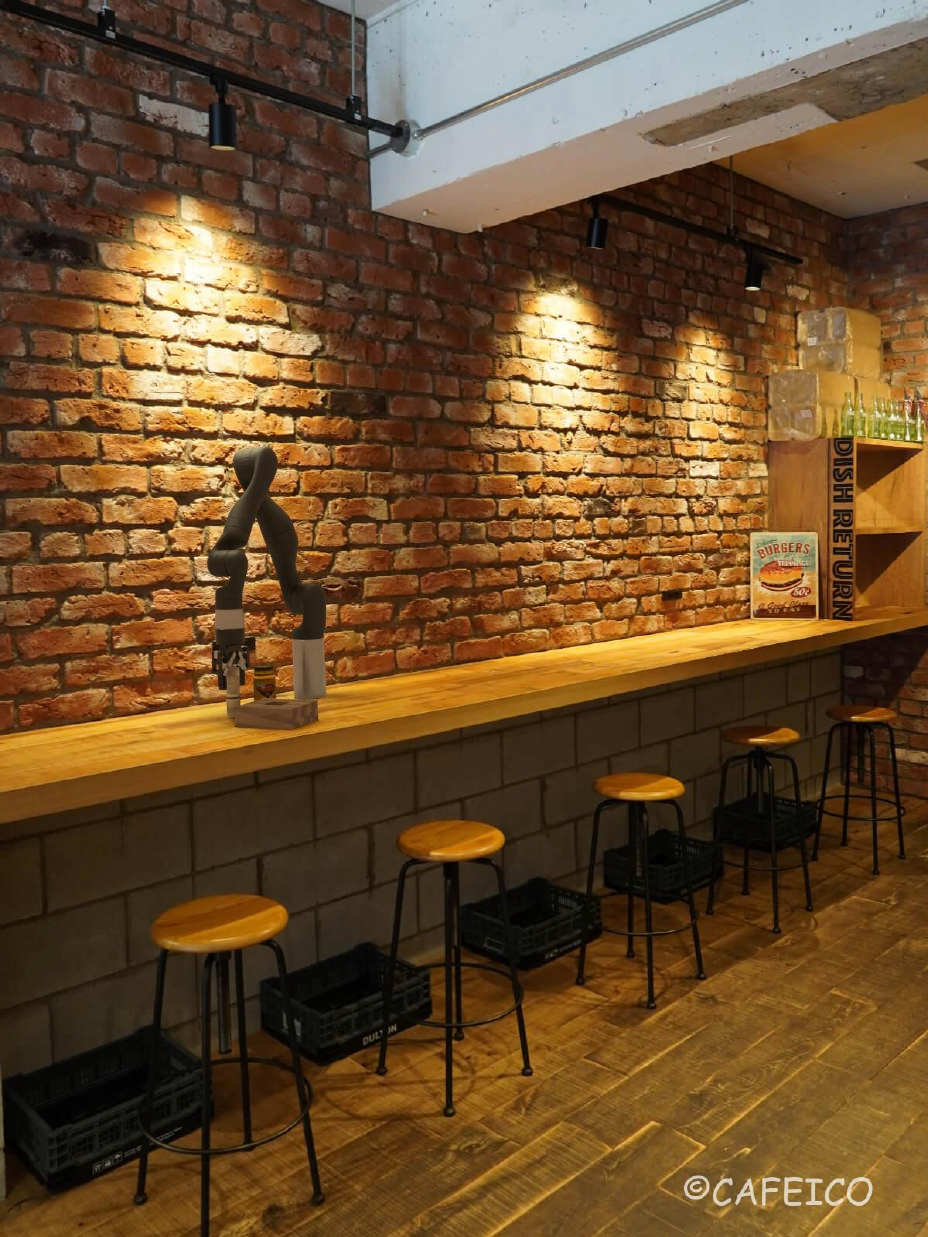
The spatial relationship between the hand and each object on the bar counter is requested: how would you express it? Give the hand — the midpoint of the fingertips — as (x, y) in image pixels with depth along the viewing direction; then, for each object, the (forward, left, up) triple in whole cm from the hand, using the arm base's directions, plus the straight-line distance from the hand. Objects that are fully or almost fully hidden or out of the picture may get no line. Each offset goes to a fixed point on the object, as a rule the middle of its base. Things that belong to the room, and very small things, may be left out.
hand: (232, 687), depth 275 cm
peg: (0, 0, -8) cm, 8 cm away
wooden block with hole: (+5, +16, -8) cm, 19 cm away
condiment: (-13, +1, -8) cm, 15 cm away
